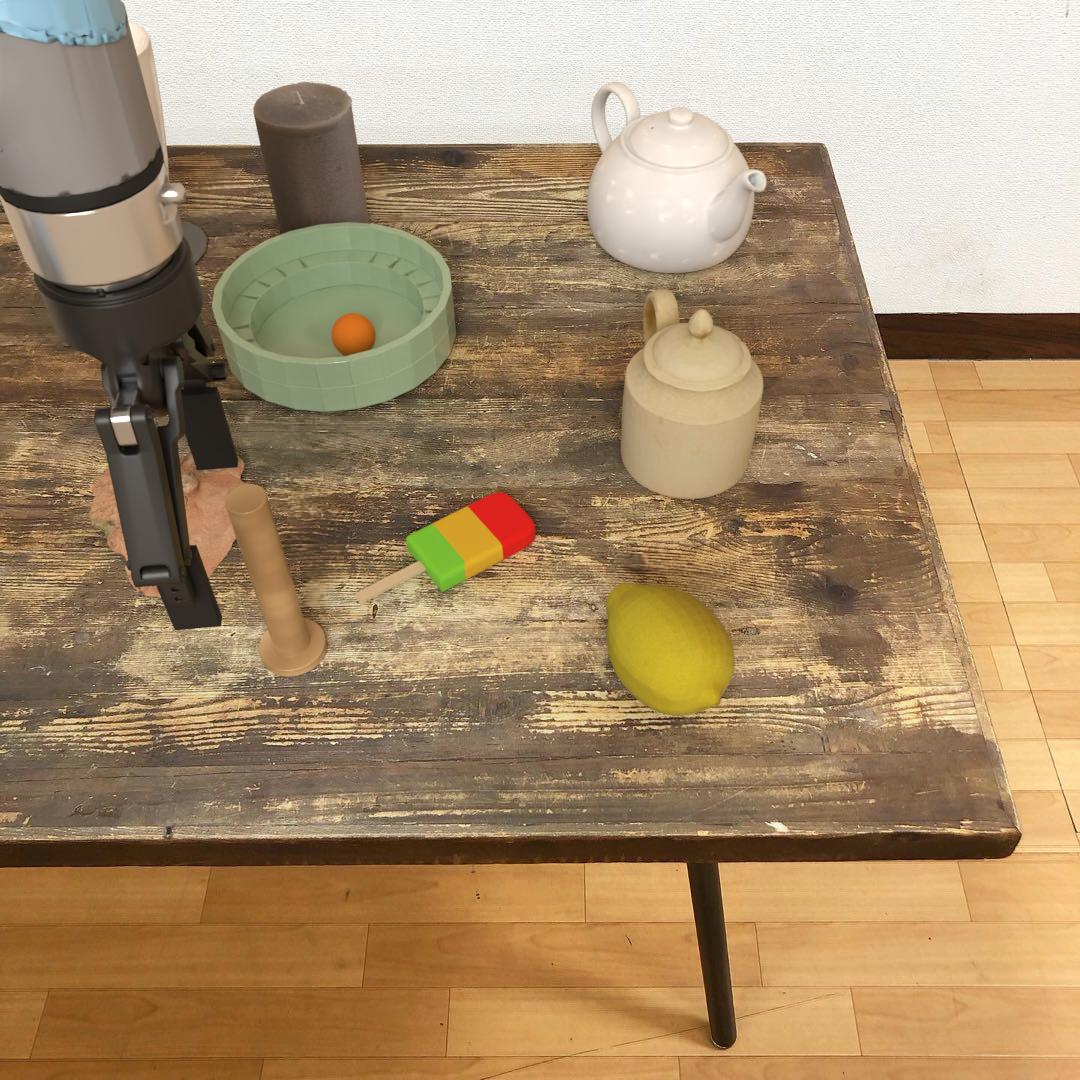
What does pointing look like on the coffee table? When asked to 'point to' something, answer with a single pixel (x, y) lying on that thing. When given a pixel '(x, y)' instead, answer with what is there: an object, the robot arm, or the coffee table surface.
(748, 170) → the teapot
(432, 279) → the bowl
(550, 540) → the coffee table surface
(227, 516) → the clay slab
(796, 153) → the coffee table surface
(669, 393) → the sugar bowl
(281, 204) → the pillar candle
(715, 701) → the lemon
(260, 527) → the stick
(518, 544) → the popsicle
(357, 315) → the ball
